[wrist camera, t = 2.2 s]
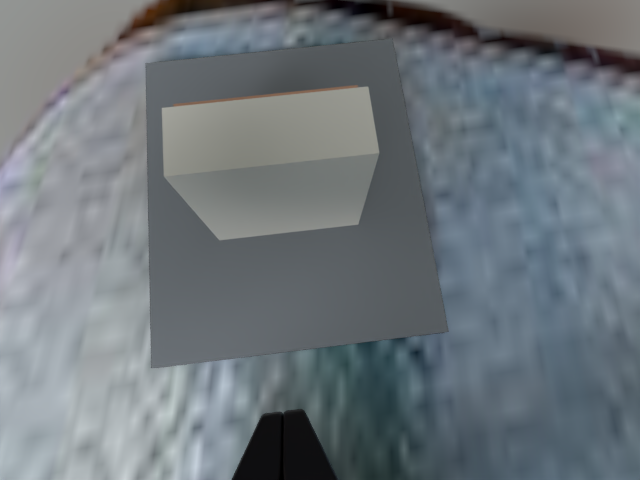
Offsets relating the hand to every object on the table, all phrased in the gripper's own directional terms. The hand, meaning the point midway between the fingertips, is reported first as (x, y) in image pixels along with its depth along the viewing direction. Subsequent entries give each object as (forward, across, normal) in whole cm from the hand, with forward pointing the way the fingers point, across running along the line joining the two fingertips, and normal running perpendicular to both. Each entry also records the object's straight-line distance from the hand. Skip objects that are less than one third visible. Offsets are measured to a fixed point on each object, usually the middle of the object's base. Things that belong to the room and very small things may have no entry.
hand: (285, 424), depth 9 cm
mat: (+16, 0, +2) cm, 16 cm away
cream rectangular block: (+14, 0, +2) cm, 14 cm away
